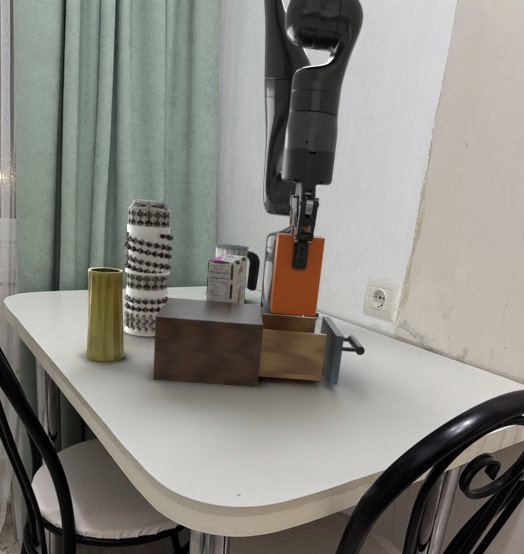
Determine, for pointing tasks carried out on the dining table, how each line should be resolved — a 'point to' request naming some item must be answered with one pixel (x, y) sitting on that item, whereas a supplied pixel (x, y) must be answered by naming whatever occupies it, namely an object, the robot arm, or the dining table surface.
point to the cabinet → (208, 342)
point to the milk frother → (253, 258)
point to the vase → (105, 315)
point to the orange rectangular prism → (296, 278)
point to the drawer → (302, 348)
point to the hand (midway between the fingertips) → (297, 266)
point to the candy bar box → (227, 279)
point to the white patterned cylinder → (146, 265)
